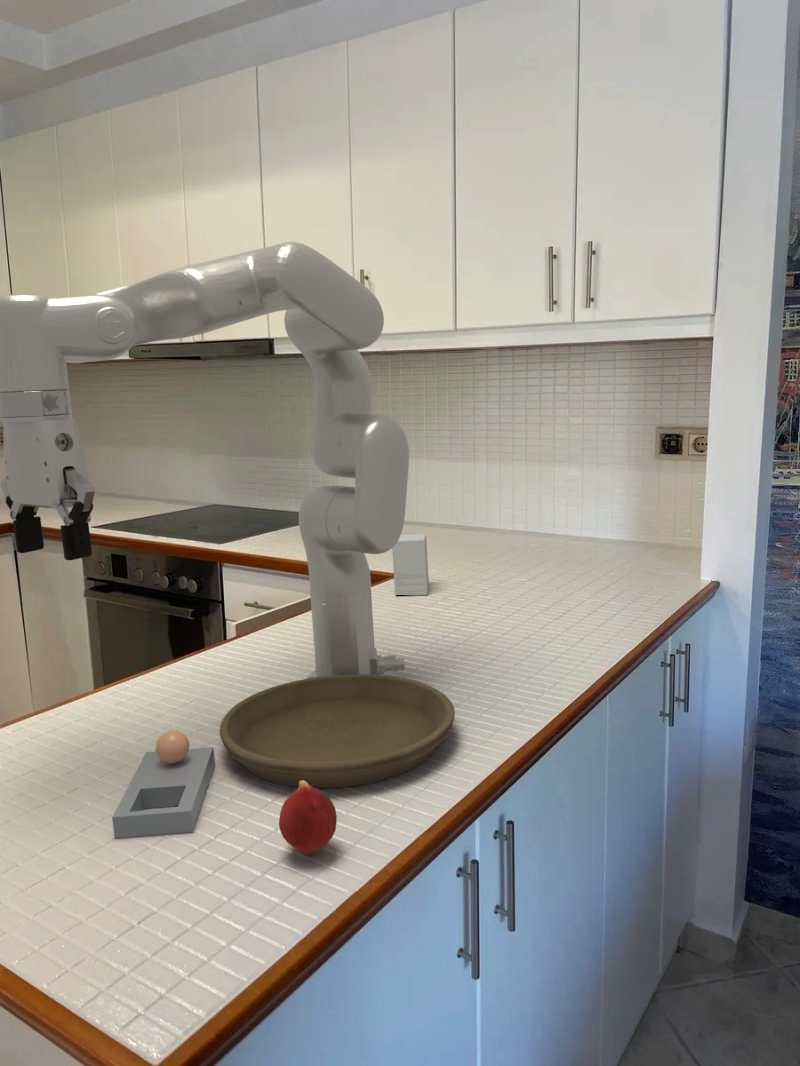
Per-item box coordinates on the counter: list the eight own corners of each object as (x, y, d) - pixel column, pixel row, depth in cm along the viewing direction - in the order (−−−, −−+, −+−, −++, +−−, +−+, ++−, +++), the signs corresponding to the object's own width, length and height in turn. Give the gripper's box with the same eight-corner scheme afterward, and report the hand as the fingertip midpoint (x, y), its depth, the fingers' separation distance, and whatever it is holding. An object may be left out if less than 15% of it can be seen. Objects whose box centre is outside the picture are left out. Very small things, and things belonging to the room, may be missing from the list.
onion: (339, 836, 89) (334, 766, 87) (337, 867, 83) (332, 793, 81) (285, 839, 88) (279, 769, 87) (279, 871, 83) (272, 796, 81)
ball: (193, 753, 104) (190, 723, 104) (187, 768, 101) (184, 737, 100) (161, 756, 104) (158, 726, 103) (154, 770, 100) (150, 739, 100)
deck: (215, 765, 106) (213, 747, 106) (193, 832, 91) (190, 811, 90) (148, 770, 106) (146, 752, 106) (114, 838, 90) (112, 817, 90)
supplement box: (429, 587, 190) (427, 533, 188) (427, 595, 183) (425, 539, 180) (397, 588, 191) (394, 534, 189) (394, 596, 184) (391, 540, 181)
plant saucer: (336, 684, 133) (334, 657, 132) (500, 728, 114) (499, 697, 113) (173, 758, 110) (170, 725, 109) (345, 829, 90) (343, 790, 89)
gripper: (110, 404, 93) (126, 554, 96) (25, 407, 103) (42, 543, 106) (48, 408, 87) (68, 567, 90) (-36, 410, 97) (-16, 554, 100)
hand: (54, 554), depth 98 cm, fingers open, 9 cm apart
